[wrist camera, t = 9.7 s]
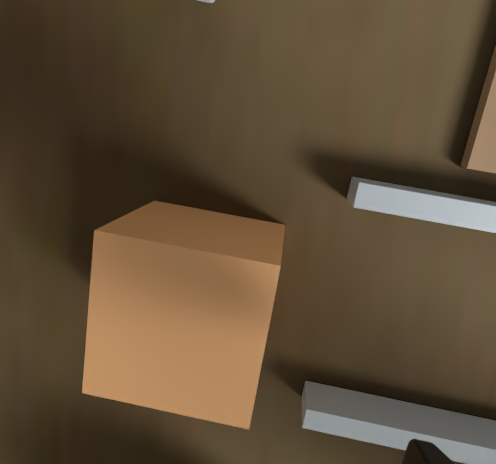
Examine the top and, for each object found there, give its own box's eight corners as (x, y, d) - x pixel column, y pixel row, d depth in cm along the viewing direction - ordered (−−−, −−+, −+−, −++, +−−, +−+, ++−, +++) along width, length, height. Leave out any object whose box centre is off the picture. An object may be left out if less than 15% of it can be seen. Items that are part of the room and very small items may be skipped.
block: (285, 224, 16) (280, 265, 11) (262, 343, 17) (249, 429, 12) (155, 200, 16) (94, 230, 11) (142, 319, 17) (82, 393, 12)
